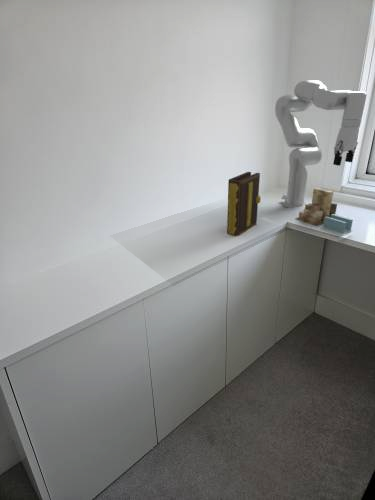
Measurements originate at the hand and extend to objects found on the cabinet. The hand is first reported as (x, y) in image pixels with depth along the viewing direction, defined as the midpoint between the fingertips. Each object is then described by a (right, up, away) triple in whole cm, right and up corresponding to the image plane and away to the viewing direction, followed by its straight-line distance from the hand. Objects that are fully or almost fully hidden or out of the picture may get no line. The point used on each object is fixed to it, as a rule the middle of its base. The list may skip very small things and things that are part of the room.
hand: (342, 163), depth 148 cm
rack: (-8, -25, +14) cm, 30 cm away
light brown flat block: (-5, -23, +15) cm, 28 cm away
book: (-44, -29, +9) cm, 53 cm away
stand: (-2, -30, +2) cm, 31 cm away
